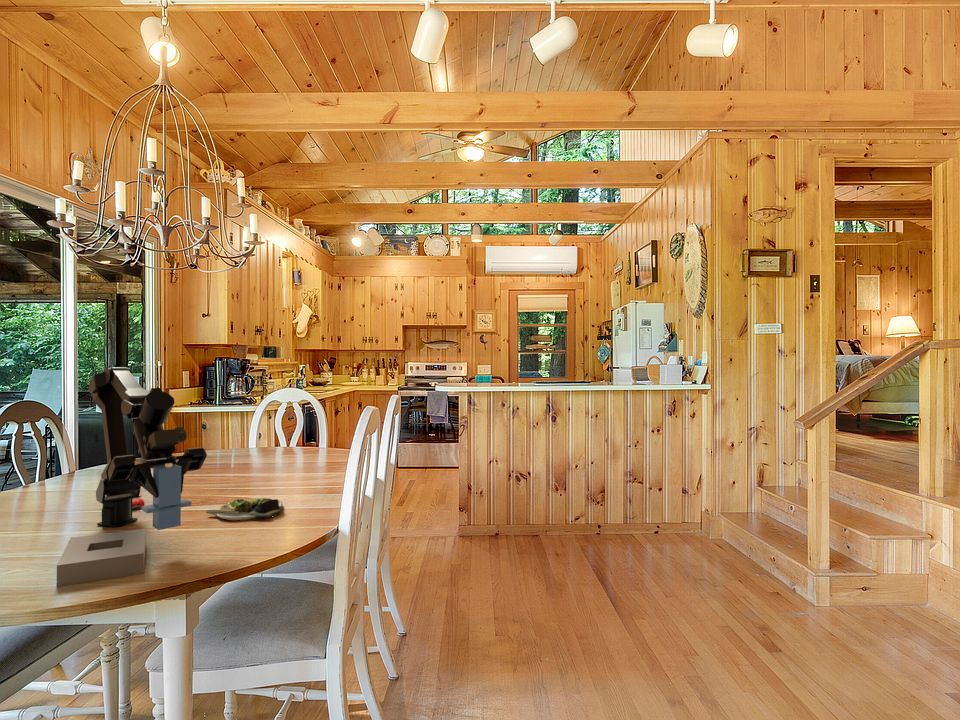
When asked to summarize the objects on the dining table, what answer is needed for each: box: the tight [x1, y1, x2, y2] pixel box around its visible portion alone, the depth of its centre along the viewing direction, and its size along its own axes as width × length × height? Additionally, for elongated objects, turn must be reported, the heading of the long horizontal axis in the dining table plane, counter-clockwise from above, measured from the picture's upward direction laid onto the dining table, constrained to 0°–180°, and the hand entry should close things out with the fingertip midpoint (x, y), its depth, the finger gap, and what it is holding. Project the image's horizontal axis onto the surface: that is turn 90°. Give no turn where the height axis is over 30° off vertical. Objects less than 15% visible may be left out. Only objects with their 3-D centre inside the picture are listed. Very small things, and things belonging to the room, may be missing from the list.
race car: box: [132, 495, 146, 511], centre depth 161 cm, size 13×5×4 cm, turn 45°
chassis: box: [56, 528, 147, 587], centre depth 116 cm, size 18×14×4 cm
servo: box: [141, 463, 192, 531], centre depth 122 cm, size 4×9×14 cm, turn 138°
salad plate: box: [205, 497, 283, 522], centre depth 155 cm, size 19×18×5 cm
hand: (169, 494), depth 121 cm, fingers closed on servo, 4 cm apart
